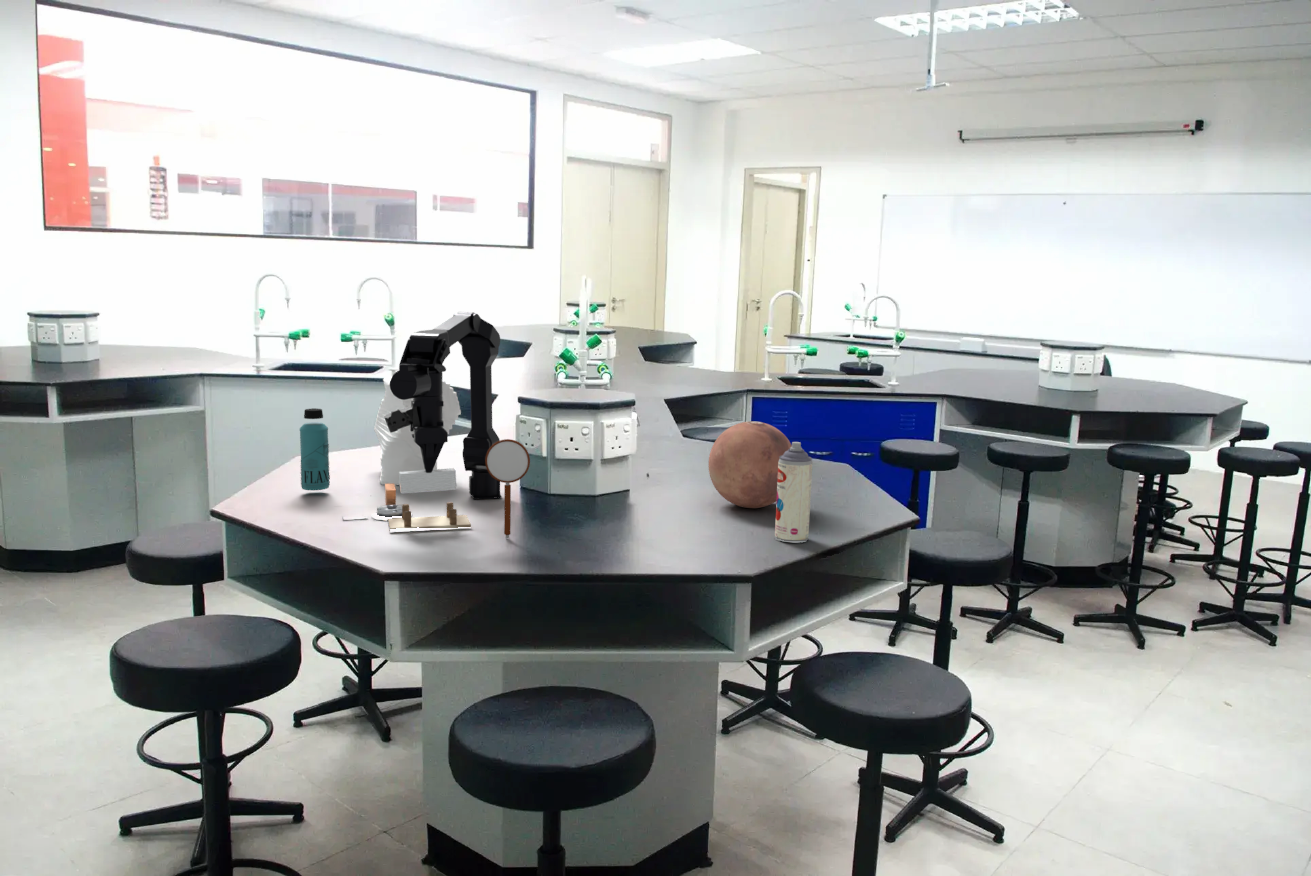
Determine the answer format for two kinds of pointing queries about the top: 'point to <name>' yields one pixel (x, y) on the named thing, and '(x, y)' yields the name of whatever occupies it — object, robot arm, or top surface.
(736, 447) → the planet model
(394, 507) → the wooden building block
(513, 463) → the magnifying glass
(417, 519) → the rack
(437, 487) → the bar
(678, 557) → the top surface
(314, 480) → the beverage bottle
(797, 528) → the aerosol can
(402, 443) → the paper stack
